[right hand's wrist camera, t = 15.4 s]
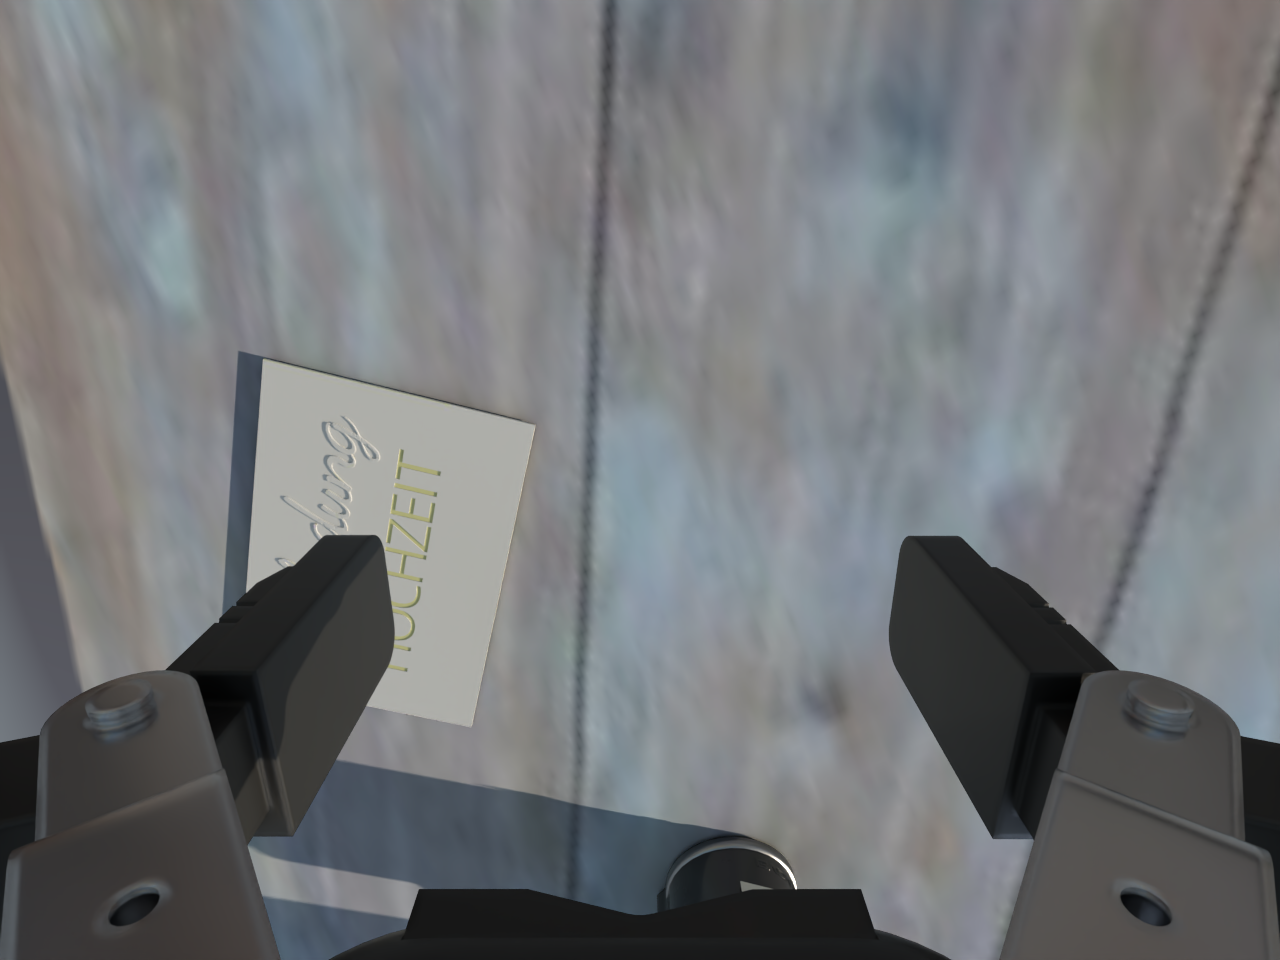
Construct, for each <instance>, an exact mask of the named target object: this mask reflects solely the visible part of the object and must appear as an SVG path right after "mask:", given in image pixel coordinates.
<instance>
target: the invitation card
mask: <svg viewBox="0 0 1280 960" xmlns="http://www.w3.org/2000/svg"><path fill="white" fill-rule="evenodd" d="M535 425H536V424H532V423H528V422H524V421H520V420H516V419H512V418H508V417H504V416H500V415H495V414H491V413H487V412H483V411H479V410H475V409H471V408H467V407H463V406H458V405H454V404H450V403H446V402H442V401H438V400H434V399H430V398H426V397H422V396H417V395H413V394H409V393H405V392H401V391H397V390H393V389H389V388H385V387H380V386H376V385H372V384H368V383H364V382H360V381H356V380H352V379H348V378H344V377H339V376H335V375H331V374H327V373H323V372H319V371H315V370H311V369H307V368H302V367H298V366H294V365H290V364H286V363H282V362H278V361H274V360H270V359H266V358H264V359H263V366H262V380H261V394H260V408H259V421H258V435H257V449H256V462H255V476H254V490H253V503H252V517H251V531H250V544H249V558H248V572H247V585H246V593H247V592H248V591H249V590H250V589H251V588H252V587H253V586H254V585H255V584H256V583H257V582H259V581H261V580H263V579H265V578H267V577H269V576H271V575H272V574H274V573H276V572H278V571H280V570H282V569H284V568H286V567H288V566H294V565H295V564H296V563H297V562H298V561H299V560H300V559H301V558H302V557H303V556H304V555H305V554H306V553H307V552H308V551H309V550H310V549H311V548H312V547H313V546H314V545H315V544H316V543H317V542H318V541H319V540H320V539H321V538H322V537H323V536H325V535H377V536H378V537H379V538H380V540H381V542H382V544H383V547H384V552H385V559H386V566H387V574H388V581H389V588H390V596H391V603H392V610H393V617H394V626H395V640H394V648H393V654H392V657H391V661H390V663H389V666H388V668H387V669H386V671H385V673H384V675H383V677H382V678H381V680H380V682H379V684H378V685H377V687H376V689H375V691H374V693H373V694H372V696H371V698H370V700H369V701H368V703H367V705H366V706H369V707H374V708H379V709H384V710H389V711H394V712H399V713H404V714H408V715H413V716H418V717H423V718H428V719H433V720H438V721H443V722H447V723H452V724H457V725H462V726H467V727H471V726H472V722H473V717H474V713H475V708H476V703H477V699H478V694H479V689H480V684H481V680H482V675H483V670H484V666H485V661H486V656H487V651H488V647H489V642H490V637H491V633H492V628H493V623H494V618H495V614H496V609H497V604H498V600H499V595H500V590H501V586H502V581H503V576H504V571H505V567H506V562H507V557H508V553H509V548H510V543H511V538H512V534H513V529H514V524H515V520H516V515H517V510H518V505H519V501H520V496H521V491H522V487H523V482H524V477H525V473H526V468H527V463H528V458H529V454H530V449H531V444H532V440H533V435H534V430H535Z"/></svg>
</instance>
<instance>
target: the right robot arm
mask: <svg viewBox="0 0 1280 960" xmlns="http://www.w3.org/2000/svg"><path fill="white" fill-rule="evenodd" d="M236 603H237V605H236V606H232V607H231V608H230V609H229V610H228V611H227V612H226V613H225V614H224V615H223V616H222V617H220V618H219V623H214V624H213V625H212V626H211V627H210V628H209V629H208V630H207V631H206V632H205V633H204V634H203V635H202V636H201V637H199V638H198V639H197V640H196V641H195V642H194V643H193V644H192V645H191V646H190V647H189V648H188V649H187V650H186V651H185V652H184V653H183V654H182V655H181V656H180V657H178V658H177V659H176V660H175V661H174V662H173V663H172V664H171V665H170V666H169V667H168V668H167V669H166V670H162V671H149V672H142V673H137V674H132V675H128V676H124V677H120V678H117V679H114V680H111V681H108V682H106V683H103V684H101V685H98V686H96V687H93V688H91V689H89V690H87V691H85V692H83V693H81V694H80V695H78V696H76V697H75V698H73V699H71V700H70V701H68V702H67V703H66V704H64V705H63V706H61V707H60V708H59V709H58V710H57V711H55V712H54V713H53V714H52V715H51V716H50V717H49V719H48V720H47V721H46V722H45V724H44V725H43V727H42V729H41V732H40V735H38V736H32V737H28V738H22V739H17V740H12V741H6V742H2V743H0V960H281V959H280V955H279V952H278V949H277V945H276V942H275V938H274V935H273V932H272V928H271V925H270V921H269V918H268V915H267V911H266V908H265V904H264V901H263V898H262V894H261V891H260V887H259V884H258V880H257V877H256V874H255V870H254V867H253V863H252V860H251V857H250V853H249V850H248V846H247V845H248V844H249V842H250V840H251V839H252V837H253V836H293V835H294V833H295V832H296V830H297V828H298V826H299V824H300V823H301V821H302V819H303V817H304V815H305V814H306V812H307V810H308V808H309V807H310V805H311V803H312V801H313V799H314V798H315V796H316V794H317V792H318V791H319V789H320V787H321V785H322V783H323V782H324V780H325V778H326V776H327V775H328V773H329V771H330V769H331V767H332V766H333V764H334V762H335V760H336V758H337V757H338V755H339V753H340V751H341V750H342V748H343V746H344V744H345V742H346V741H347V739H348V737H349V735H350V734H351V732H352V730H353V728H354V726H355V725H356V723H357V721H358V719H359V718H360V716H361V714H362V712H363V710H364V709H365V707H366V705H367V703H368V701H369V700H370V698H371V696H372V694H373V693H374V691H375V689H376V687H377V685H378V684H379V682H380V680H381V678H382V677H383V675H384V673H385V671H386V669H387V668H388V666H389V663H390V661H391V657H392V654H393V648H394V640H395V626H394V617H393V610H392V603H391V596H390V588H389V581H388V574H387V566H386V559H385V552H384V547H383V544H382V542H381V540H380V538H379V537H378V536H377V535H325V536H323V537H322V538H321V539H320V540H319V541H318V542H317V543H316V544H315V545H314V546H313V547H312V548H311V549H310V550H309V551H308V552H307V553H306V554H305V555H304V556H303V557H302V558H301V559H300V560H299V561H298V562H297V563H296V564H295V565H294V566H288V567H286V568H284V569H282V570H280V571H278V572H276V573H274V574H272V575H271V576H269V577H267V578H265V579H263V580H261V581H259V582H257V583H256V584H255V585H254V586H253V587H252V588H251V589H250V590H249V591H248V592H247V593H246V594H245V595H244V596H243V597H241V598H240V599H239V600H238V601H237V602H236ZM889 644H890V651H891V656H892V659H893V662H894V665H895V667H896V669H897V671H898V673H899V675H900V676H901V678H902V680H903V682H904V683H905V685H906V687H907V689H908V690H909V692H910V694H911V696H912V697H913V699H914V701H915V703H916V704H917V706H918V708H919V710H920V711H921V713H922V715H923V717H924V718H925V720H926V722H927V724H928V726H929V727H930V729H931V731H932V733H933V734H934V736H935V738H936V740H937V741H938V743H939V745H940V747H941V748H942V750H943V752H944V754H945V755H946V757H947V759H948V761H949V762H950V764H951V766H952V768H953V770H954V771H955V773H956V775H957V777H958V778H959V780H960V782H961V784H962V785H963V787H964V789H965V791H966V792H967V794H968V796H969V798H970V799H971V801H972V803H973V805H974V806H975V808H976V810H977V812H978V814H979V815H980V817H981V819H982V821H983V822H984V824H985V826H986V828H987V829H988V831H989V833H990V835H991V836H992V838H993V839H1034V843H1033V846H1032V850H1031V853H1030V857H1029V860H1028V863H1027V867H1026V870H1025V874H1024V877H1023V880H1022V884H1021V887H1020V891H1019V894H1018V898H1017V901H1016V904H1015V908H1014V911H1013V915H1012V918H1011V921H1010V925H1009V928H1008V932H1007V935H1006V938H1005V942H1004V945H1003V949H1002V952H1001V955H1000V959H999V960H1280V744H1279V743H1273V742H1268V741H1263V740H1258V739H1253V738H1248V737H1243V736H1240V732H1239V729H1238V727H1237V725H1236V724H1235V722H1234V721H1233V720H1232V719H1231V717H1230V716H1229V715H1228V714H1227V713H1226V712H1225V711H1223V710H1222V709H1221V708H1220V707H1219V706H1217V705H1216V704H1215V703H1213V702H1212V701H1210V700H1209V699H1207V698H1205V697H1204V696H1202V695H1200V694H1199V693H1197V692H1195V691H1193V690H1191V689H1189V688H1187V687H1184V686H1182V685H1179V684H1177V683H1174V682H1172V681H1169V680H1166V679H1163V678H1160V677H1156V676H1152V675H1148V674H1143V673H1138V672H1131V671H1120V670H1118V669H1117V668H1116V667H1115V666H1114V665H1113V664H1112V663H1111V662H1110V661H1109V660H1108V659H1107V658H1106V657H1105V656H1104V655H1103V654H1101V653H1100V652H1099V651H1098V650H1097V649H1096V648H1095V647H1094V646H1093V645H1092V644H1091V643H1090V642H1089V641H1088V640H1087V639H1086V638H1085V637H1083V636H1082V635H1081V634H1080V633H1079V632H1078V631H1077V630H1076V629H1075V628H1074V627H1073V626H1072V625H1071V624H1066V620H1065V619H1064V618H1063V617H1062V616H1061V615H1060V614H1059V613H1058V612H1057V611H1056V610H1055V609H1054V608H1049V603H1047V602H1046V601H1045V600H1044V599H1043V598H1042V597H1041V596H1040V595H1039V594H1038V593H1037V592H1036V591H1035V590H1034V589H1033V588H1032V587H1031V586H1029V585H1028V584H1027V583H1025V582H1023V581H1021V580H1019V579H1017V578H1016V577H1014V576H1012V575H1010V574H1008V573H1006V572H1004V571H1002V570H1000V569H999V568H997V567H991V566H989V565H988V564H987V563H986V562H985V561H984V560H983V559H982V558H981V557H980V556H979V555H978V554H977V553H976V552H975V551H974V550H973V549H972V548H971V547H970V546H969V545H968V544H967V543H966V542H965V541H964V540H963V539H962V538H961V537H959V536H908V537H906V538H905V539H904V541H903V543H902V545H901V548H900V553H899V560H898V567H897V574H896V581H895V588H894V596H893V603H892V610H891V617H890V625H889ZM657 909H658V913H654V914H648V915H632V914H626V913H622V912H618V911H614V910H610V909H606V908H602V907H598V906H594V905H590V904H586V903H582V902H578V901H573V900H569V899H565V898H561V897H557V896H553V895H549V894H545V893H541V892H537V891H533V890H529V889H419V891H418V894H417V897H416V900H415V903H414V906H413V909H412V912H411V915H410V918H409V921H408V924H407V927H406V929H404V930H401V931H397V932H393V933H390V934H387V935H384V936H381V937H378V938H376V939H373V940H370V941H367V942H364V943H362V944H360V945H358V946H356V947H353V948H351V949H349V950H347V951H345V952H343V953H341V954H338V955H336V956H335V957H333V958H331V959H329V960H951V959H949V958H947V957H945V956H944V955H942V954H939V953H937V952H935V951H933V950H931V949H929V948H927V947H924V946H922V945H920V944H918V943H916V942H913V941H910V940H907V939H904V938H902V937H899V936H896V935H893V934H890V933H887V932H883V931H880V930H876V929H874V927H873V924H872V921H871V918H870V915H869V912H868V909H867V906H866V903H865V900H864V897H863V894H862V891H861V889H797V887H796V883H795V878H794V874H793V871H792V868H791V866H790V864H789V863H788V861H787V860H786V859H785V857H784V856H783V855H782V854H781V853H779V852H778V851H777V850H776V849H774V848H772V847H771V846H769V845H767V844H765V843H762V842H760V841H757V840H753V839H748V838H741V837H725V838H717V839H713V840H709V841H706V842H703V843H700V844H698V845H696V846H694V847H692V848H690V849H689V850H687V851H686V852H685V853H683V854H682V855H681V856H680V857H679V858H678V859H677V860H676V861H675V863H674V864H673V865H672V867H671V869H670V871H669V873H668V876H667V880H666V888H665V889H664V890H663V891H662V892H661V893H659V894H658V895H657Z"/></svg>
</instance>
